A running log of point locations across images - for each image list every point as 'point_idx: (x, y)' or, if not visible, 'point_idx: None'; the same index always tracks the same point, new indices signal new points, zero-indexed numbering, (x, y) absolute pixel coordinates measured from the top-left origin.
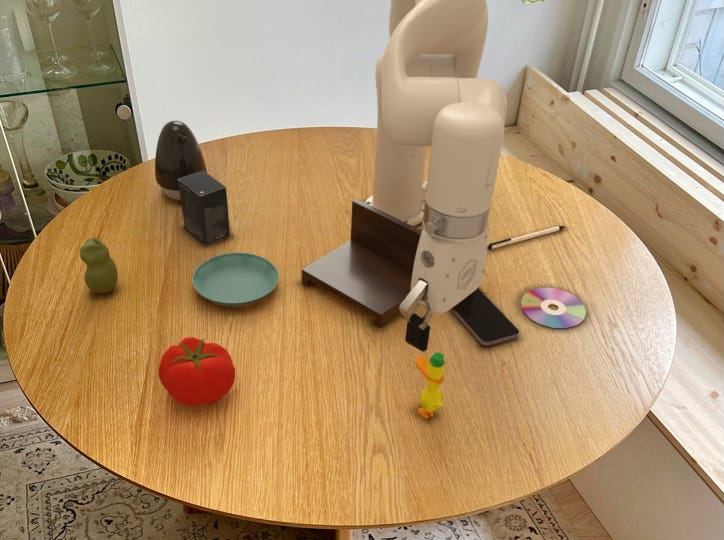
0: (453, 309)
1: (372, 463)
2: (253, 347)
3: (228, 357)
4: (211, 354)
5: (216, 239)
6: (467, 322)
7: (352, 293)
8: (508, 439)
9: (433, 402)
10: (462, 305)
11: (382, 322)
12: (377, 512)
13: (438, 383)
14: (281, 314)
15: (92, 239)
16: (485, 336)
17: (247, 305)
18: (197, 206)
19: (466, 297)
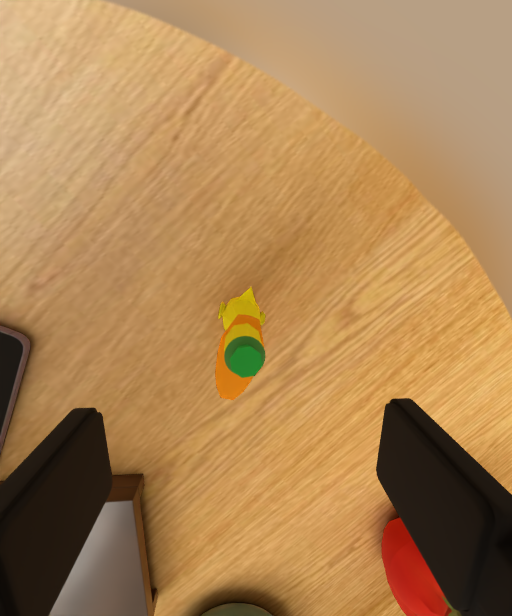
0: (109, 473)
1: (375, 306)
2: (304, 547)
3: (415, 579)
4: (450, 605)
5: None
6: (7, 395)
7: (129, 558)
8: (185, 168)
9: (254, 305)
10: (78, 477)
11: (134, 483)
12: (445, 242)
13: (254, 317)
14: (229, 569)
15: None
16: (8, 350)
17: (252, 605)
18: None
19: (34, 526)
